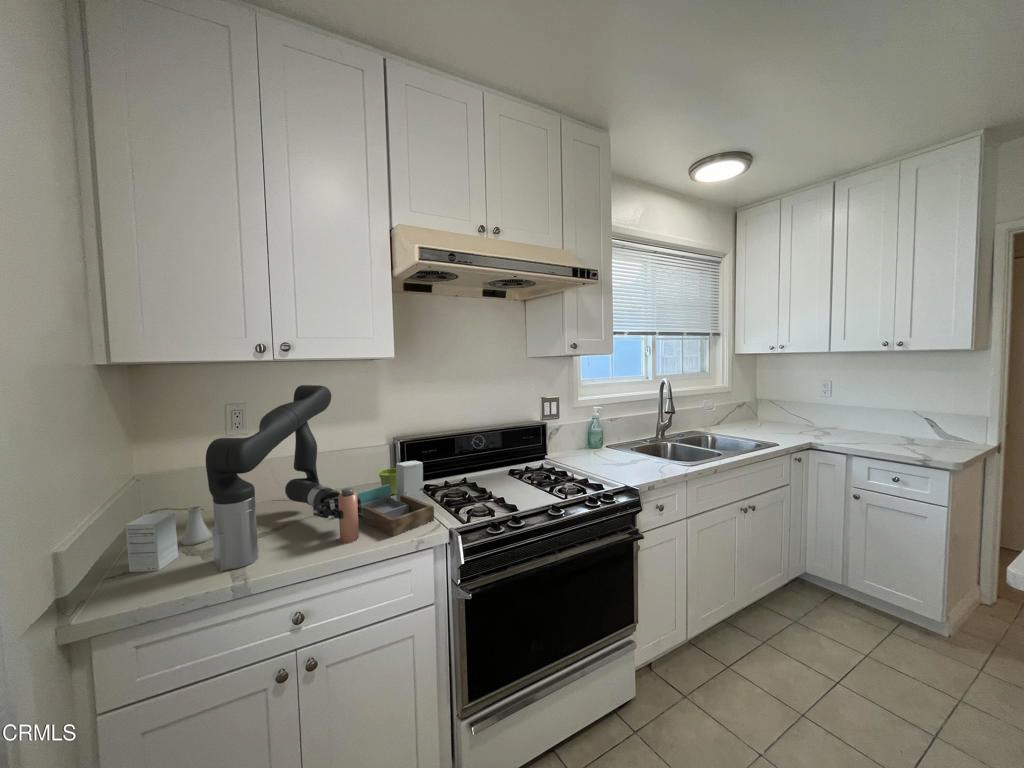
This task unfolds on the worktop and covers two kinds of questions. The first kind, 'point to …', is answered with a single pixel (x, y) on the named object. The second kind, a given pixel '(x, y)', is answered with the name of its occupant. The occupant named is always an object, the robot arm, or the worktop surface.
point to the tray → (383, 502)
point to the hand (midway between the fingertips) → (351, 512)
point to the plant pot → (388, 478)
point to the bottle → (348, 515)
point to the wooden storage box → (395, 526)
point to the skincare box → (409, 480)
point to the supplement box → (151, 542)
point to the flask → (195, 528)
